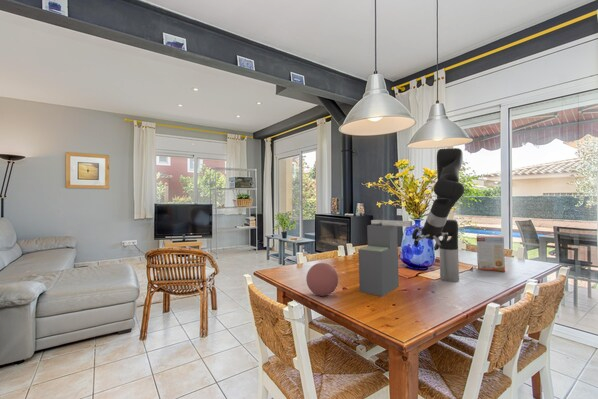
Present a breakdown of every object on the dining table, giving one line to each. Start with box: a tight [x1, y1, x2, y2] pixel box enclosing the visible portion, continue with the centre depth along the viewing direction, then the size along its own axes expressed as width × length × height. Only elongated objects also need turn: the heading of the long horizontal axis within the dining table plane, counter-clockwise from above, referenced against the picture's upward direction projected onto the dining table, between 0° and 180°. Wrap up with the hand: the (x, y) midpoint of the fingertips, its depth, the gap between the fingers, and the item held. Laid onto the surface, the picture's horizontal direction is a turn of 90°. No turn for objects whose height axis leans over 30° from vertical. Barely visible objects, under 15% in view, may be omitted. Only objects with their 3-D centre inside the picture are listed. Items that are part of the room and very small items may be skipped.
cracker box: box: [476, 234, 506, 273], centre depth 175 cm, size 14×6×21 cm, turn 58°
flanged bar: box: [370, 219, 413, 228], centre depth 145 cm, size 6×21×2 cm, turn 49°
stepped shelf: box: [357, 224, 400, 298], centre depth 144 cm, size 20×12×32 cm, turn 140°
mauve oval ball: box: [305, 262, 339, 297], centre depth 139 cm, size 15×20×15 cm
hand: (425, 247), depth 132 cm, fingers open, 8 cm apart
